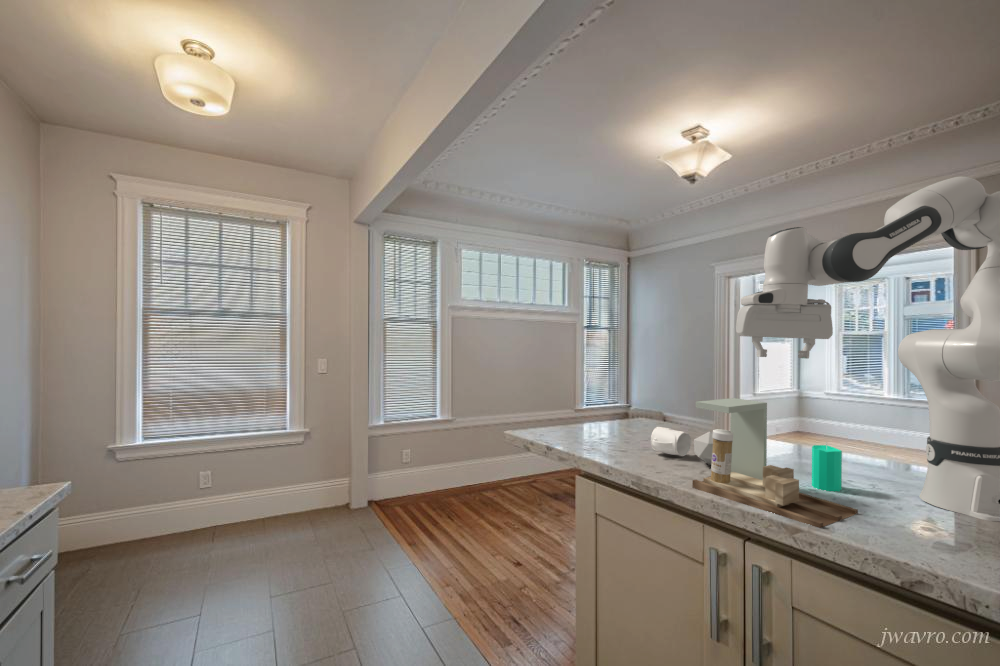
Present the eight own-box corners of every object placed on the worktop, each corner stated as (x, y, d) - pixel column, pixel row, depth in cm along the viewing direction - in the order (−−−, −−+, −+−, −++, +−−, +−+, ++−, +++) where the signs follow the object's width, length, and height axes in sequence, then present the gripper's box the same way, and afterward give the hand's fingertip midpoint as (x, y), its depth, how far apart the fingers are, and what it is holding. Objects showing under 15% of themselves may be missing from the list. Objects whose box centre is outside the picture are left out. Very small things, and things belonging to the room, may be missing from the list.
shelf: (766, 488, 113) (766, 402, 113) (728, 498, 105) (728, 406, 105) (732, 477, 121) (733, 398, 121) (695, 486, 113) (695, 401, 113)
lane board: (857, 518, 95) (857, 509, 95) (819, 532, 87) (819, 523, 87) (730, 478, 120) (730, 471, 120) (692, 487, 113) (692, 480, 113)
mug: (664, 448, 152) (665, 424, 152) (691, 454, 144) (691, 429, 144) (644, 454, 144) (645, 429, 144) (671, 460, 137) (672, 434, 137)
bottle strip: (798, 506, 97) (798, 479, 97) (782, 511, 94) (783, 484, 94) (717, 479, 114) (717, 457, 114) (701, 483, 112) (701, 460, 112)
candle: (811, 484, 116) (812, 438, 116) (840, 489, 112) (841, 441, 112) (811, 491, 111) (811, 442, 111) (842, 496, 107) (842, 446, 107)
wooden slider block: (793, 493, 105) (793, 469, 105) (778, 497, 102) (778, 472, 102) (734, 475, 118) (735, 454, 118) (720, 479, 115) (720, 457, 115)
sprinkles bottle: (706, 483, 111) (708, 429, 111) (719, 480, 113) (721, 428, 113) (721, 489, 107) (724, 434, 107) (735, 487, 109) (737, 432, 109)
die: (730, 470, 127) (730, 435, 127) (696, 468, 129) (696, 433, 129) (721, 462, 136) (721, 429, 136) (690, 460, 137) (690, 427, 138)
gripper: (822, 300, 107) (820, 358, 107) (733, 298, 108) (731, 355, 108) (840, 298, 100) (838, 360, 100) (746, 295, 102) (744, 356, 102)
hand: (782, 357), depth 104 cm, fingers open, 8 cm apart
